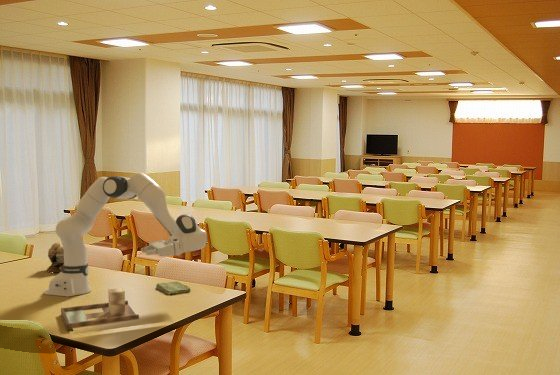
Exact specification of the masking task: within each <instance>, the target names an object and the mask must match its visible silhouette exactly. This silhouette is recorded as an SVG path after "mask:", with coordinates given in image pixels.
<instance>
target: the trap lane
mask: <svg viewBox="0 0 560 375" xmlns="http://www.w3.org/2000/svg"><path fill="white" fill-rule="evenodd" d="M95 309H102V311H99V312H93V313H91V312H90V313H85V311H88V310H95ZM60 315H61V318H62V321H63V325H64V326H65V329H66V331H67V332H72V331H74V329H73V328H76V327H77V328H78V327H83V326H84V327H85V326H91V325H99V324H107V323H117V322H122V321H131V320H137V319H139V318H140V315H139V314H136V313H135V311H134V310H133V309H132V308H131V306H130V305H129V300H126V299H125V314H119V315H111V314H110V313H109V302H101V303H93V304H92V303H91V304H86V305H85V304H84V305H77V306H76V305H75V306H68V307H61V308H60ZM105 317H106V318H105ZM97 318H99V319H97Z"/></svg>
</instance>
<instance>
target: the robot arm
mask: <svg viewBox="0 0 560 375" xmlns="http://www.w3.org/2000/svg"><path fill="white" fill-rule="evenodd" d="M135 198H138V199H140V200H141V201H142V202H143V204H145V206H146V207H147V208H148V209H149V210H150V212H151V213H152V214H153V216H154V217H155V219H156V220H157V221H158V223H160V225H161V226H163V228H164V229H165V230H166V232H168V234H169V235H170V236H168V237H167V239H165V240H163V239H162V240H155V241H152V242H149V243H148V245H147V246H144V247H141V248H140V251H141V252H142V253H144V252H145V255H146V256H150V255H157V256H159V257H167V256H168V257H169V256H180V255H181V254H184V253H186V252H195V251H198V250H202V249H203V248H205V247H206V246H207V244H208V232H207V231H206V230H205V229H202V228H201V227H200V226H199V225H198V223H197V222H196V220H195V218H194V217H193V216H192V215H189V214H185V213H184V214H181V215H178V217H177V218H176V219H174V217H173V216H172V214H171V213H170V211H169V209H168V206H167V196H166V192H165V191H164V189H163V188H162V186H160V184H158V183H157V182H156V181H155V180H154V179H153V178H152V177H150V176H148V175H147V174H146V173H144V172H142V171H141V172H136V173H134V174H133V175H132V176H131V177H127V176H118V175H113V176H109V177H107V176H100V177H98V178H97V179H96V180H95V181H93V183H92V184H91V185H90V186H89V188H88V189H87V190H86V191H85V193H84V194H83V195H82V197H81V199H80V200H79V201H78V204H77V207H76V210H75V212H74V213H73V214H72V215H71V216H68V217H64V218H62V219H61V220H60V221H59V222H57V224H56V226H55V233H56V235H57V236H58V237H59V239H60V241H61V244H62V247H63V250H64V264H63V265H62V266H61V267H59V268H60V269H61V272H60V273H58V274H56V275H55V276H54V277H53V278H51V280H50V281H49V283H48V288H46V289H45V290H44V291H43V295H48V296H49V295H50V296H59V297H74V296H78V295H85V294H87V293H90V292H91V291H92V289H91V284H90V281H89V270H90V269H89V263H88V248H87V247H86V246H85V243H84V240H83V236H84V235H86V234H88V233H89V232H90V231H91V230H92V229H93V227H94V223H95V221H96V220H97V219H96V218H97V217H98V215H99V214H100V212H101V211H102V209H103V208H104V207H105V206H106V204H107V203H108V201H109V200H110V199H118V200H131V199H135Z"/></svg>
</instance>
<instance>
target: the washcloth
mask: <svg viewBox="0 0 560 375" xmlns="http://www.w3.org/2000/svg"><path fill="white" fill-rule="evenodd" d="M155 288H156V289H157V290H158V291H160V290H161V291H160V292H162V291H163V293H165V294H167V295H168V294H169V296H172V295H171V294H173V295H177V293H179V294H183V293H188V291H189V292H191V290H192V289H191V287H190V286H188V285H186V284H183V283H182V282H180V281H176V280H175V281H168V282H159V283H156V286H155Z"/></svg>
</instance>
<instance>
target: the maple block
mask: <svg viewBox="0 0 560 375" xmlns="http://www.w3.org/2000/svg"><path fill="white" fill-rule="evenodd" d="M107 290H108V292H107V293H108V294H107V295H108V299H107V300H108V303H109V313H110V314H111V315H119V314H125V301H126V291H125V290H124V288H122V287H120V288H119V287H118V288H110V289H109V288H108V289H107Z"/></svg>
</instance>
